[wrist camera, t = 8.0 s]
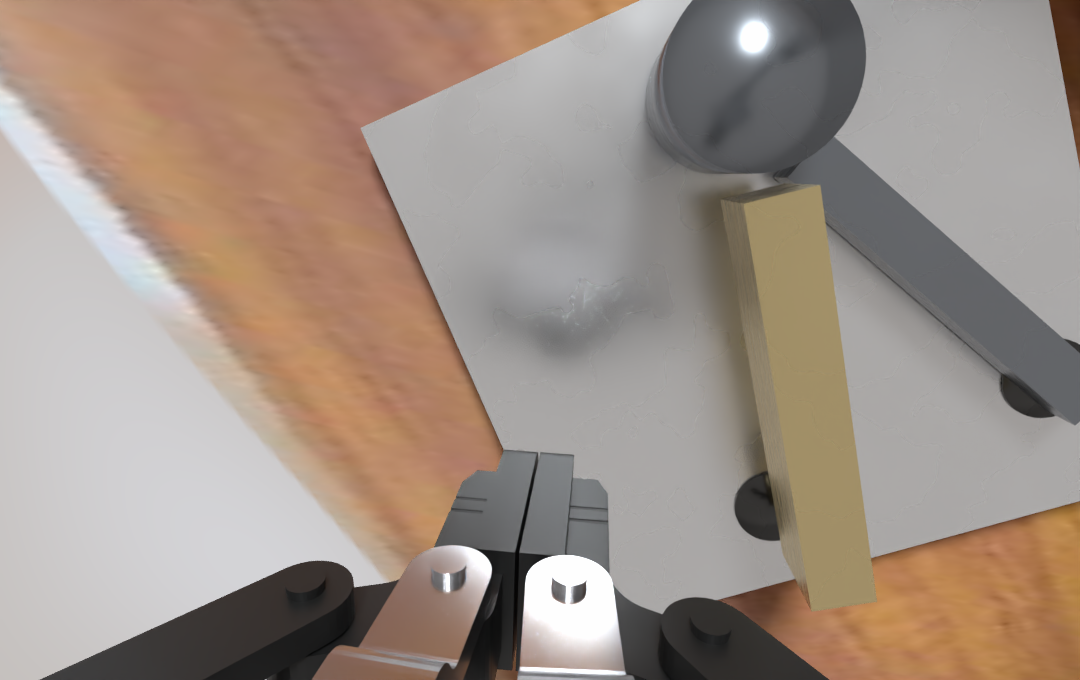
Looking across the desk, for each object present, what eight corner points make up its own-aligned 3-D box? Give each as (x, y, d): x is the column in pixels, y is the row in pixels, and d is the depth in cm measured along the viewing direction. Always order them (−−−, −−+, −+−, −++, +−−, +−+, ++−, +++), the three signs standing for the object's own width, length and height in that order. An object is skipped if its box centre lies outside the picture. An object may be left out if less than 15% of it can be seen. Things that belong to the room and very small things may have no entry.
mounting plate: (989, -150, 15) (1177, -303, 10) (1109, 469, 19) (1286, 569, 14) (372, 130, 18) (293, 115, 13) (586, 615, 22) (585, 739, 17)
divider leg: (711, 197, 16) (743, 203, 13) (771, 182, 16) (819, 184, 13) (770, 531, 19) (811, 611, 15) (823, 522, 19) (876, 601, 15)
